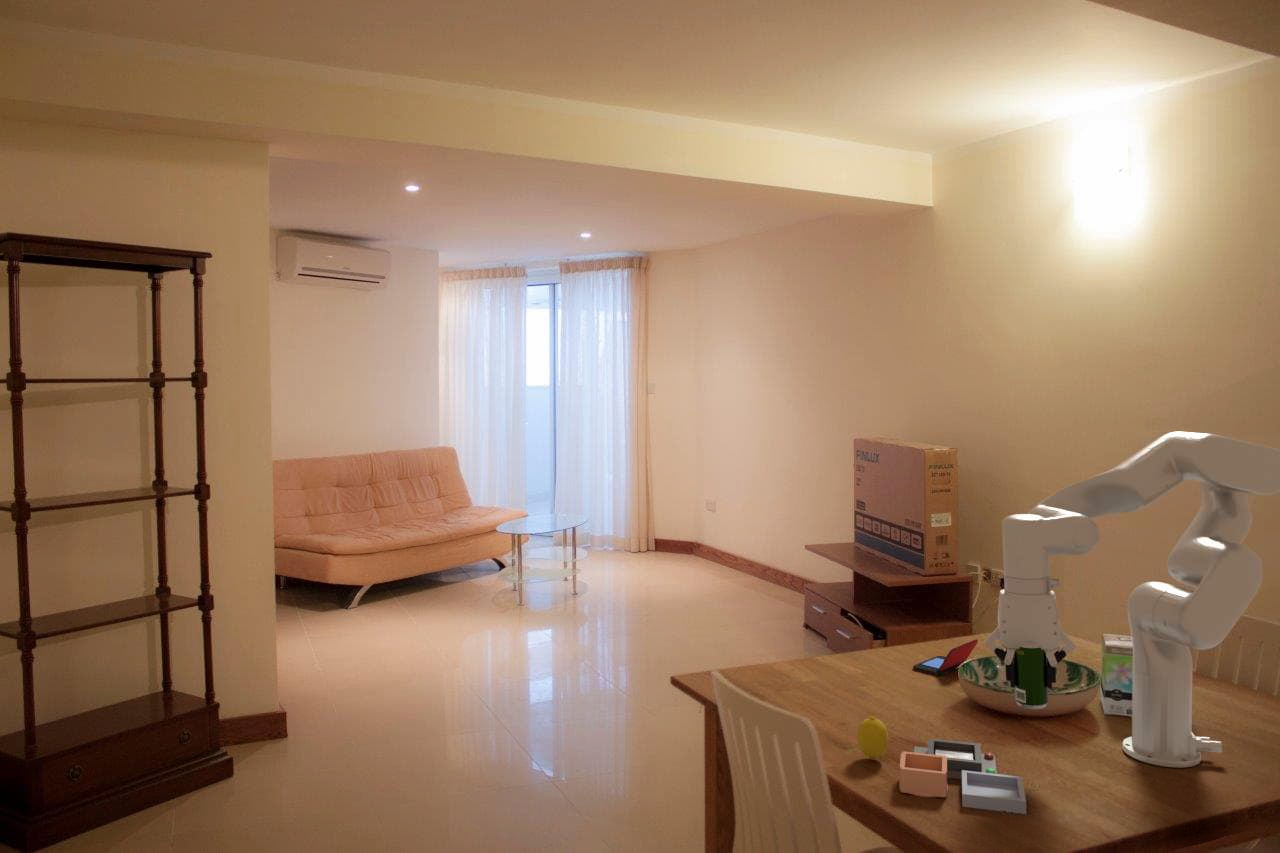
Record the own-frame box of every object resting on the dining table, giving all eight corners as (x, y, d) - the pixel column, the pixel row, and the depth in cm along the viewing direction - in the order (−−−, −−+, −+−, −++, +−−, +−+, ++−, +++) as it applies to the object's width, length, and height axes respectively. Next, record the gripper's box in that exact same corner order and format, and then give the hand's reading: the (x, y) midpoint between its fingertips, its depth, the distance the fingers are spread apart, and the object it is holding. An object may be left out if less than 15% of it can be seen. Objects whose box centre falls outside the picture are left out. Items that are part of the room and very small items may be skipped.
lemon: (871, 768, 167) (871, 724, 167) (851, 757, 172) (850, 714, 171) (895, 761, 170) (894, 718, 169) (874, 751, 174) (874, 709, 174)
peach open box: (948, 780, 162) (948, 755, 161) (948, 800, 154) (948, 774, 154) (900, 774, 164) (900, 750, 164) (898, 794, 157) (897, 768, 156)
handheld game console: (938, 659, 231) (939, 629, 230) (979, 669, 222) (979, 638, 222) (910, 670, 222) (910, 639, 222) (951, 681, 214) (951, 649, 214)
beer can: (1036, 712, 162) (1033, 644, 161) (1008, 704, 166) (1006, 638, 166) (1054, 704, 165) (1052, 637, 164) (1027, 696, 169) (1024, 631, 169)
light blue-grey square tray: (1021, 788, 158) (1021, 776, 158) (1026, 814, 149) (1026, 801, 148) (961, 782, 161) (961, 770, 161) (962, 806, 152) (962, 793, 152)
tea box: (1103, 716, 190) (1104, 644, 190) (1099, 700, 200) (1100, 632, 199) (1188, 725, 185) (1189, 651, 184) (1180, 708, 194) (1181, 638, 193)
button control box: (994, 760, 170) (994, 744, 169) (997, 783, 160) (997, 766, 160) (914, 751, 174) (914, 735, 174) (912, 773, 164) (912, 756, 164)
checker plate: (972, 756, 169) (972, 751, 169) (973, 770, 163) (973, 765, 163) (935, 752, 171) (935, 747, 171) (935, 766, 165) (935, 761, 165)
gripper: (1077, 580, 165) (1080, 680, 166) (974, 579, 171) (978, 676, 172) (1083, 590, 158) (1086, 695, 159) (976, 589, 164) (980, 690, 165)
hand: (1030, 684), depth 165 cm, fingers closed on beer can, 5 cm apart
